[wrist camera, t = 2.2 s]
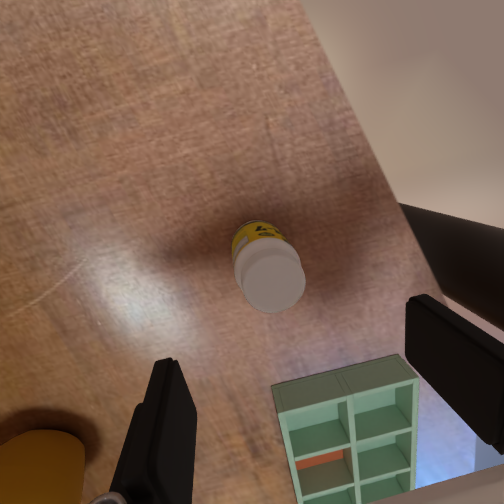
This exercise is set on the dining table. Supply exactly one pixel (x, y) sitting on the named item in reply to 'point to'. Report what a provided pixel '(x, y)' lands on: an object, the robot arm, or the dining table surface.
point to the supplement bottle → (266, 267)
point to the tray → (351, 432)
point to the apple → (42, 468)
